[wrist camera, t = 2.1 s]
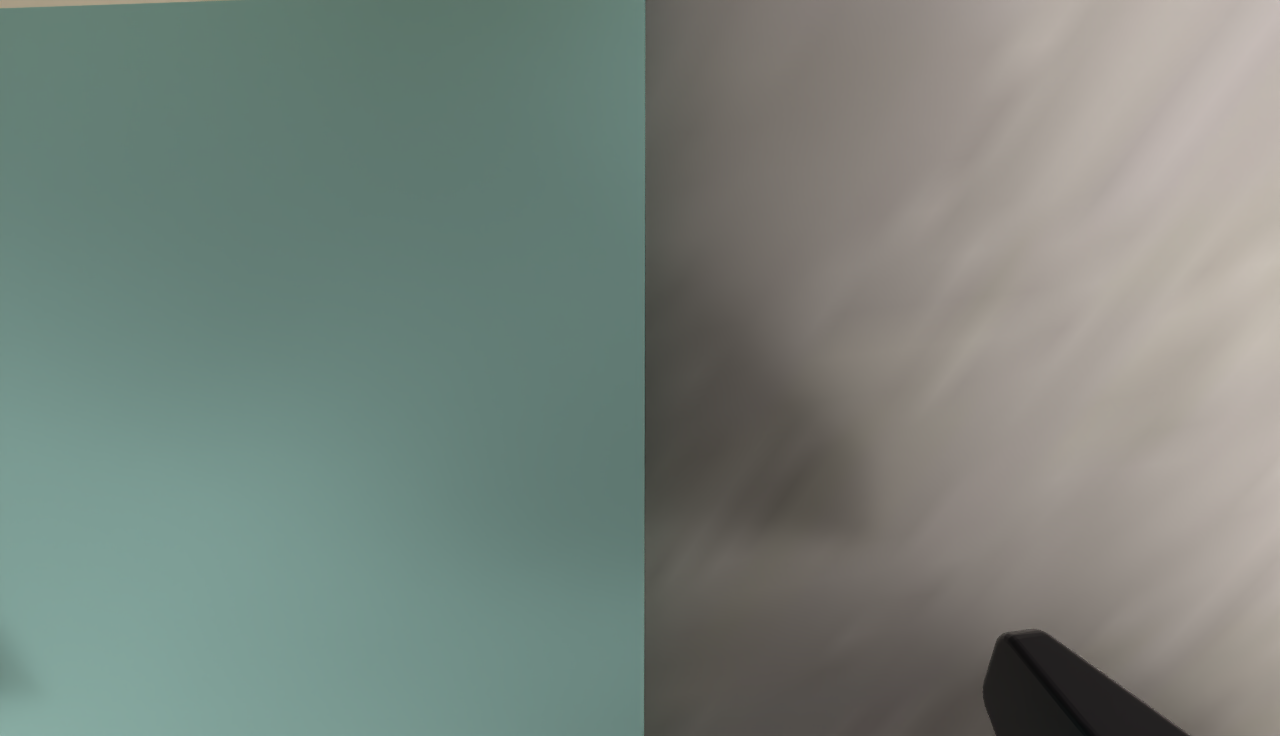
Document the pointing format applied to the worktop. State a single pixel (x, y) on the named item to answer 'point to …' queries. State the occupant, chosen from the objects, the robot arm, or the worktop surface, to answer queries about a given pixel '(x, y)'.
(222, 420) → the lane
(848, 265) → the worktop surface
